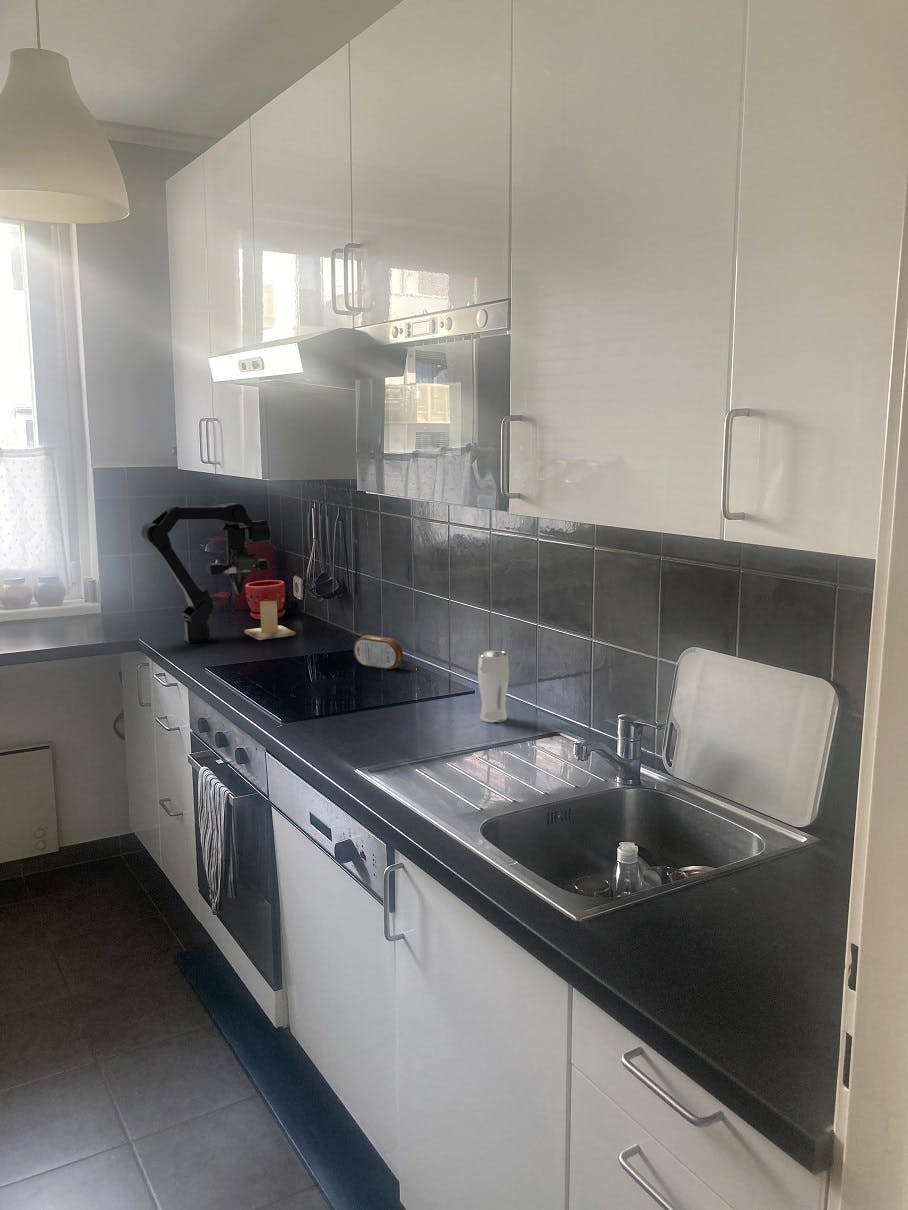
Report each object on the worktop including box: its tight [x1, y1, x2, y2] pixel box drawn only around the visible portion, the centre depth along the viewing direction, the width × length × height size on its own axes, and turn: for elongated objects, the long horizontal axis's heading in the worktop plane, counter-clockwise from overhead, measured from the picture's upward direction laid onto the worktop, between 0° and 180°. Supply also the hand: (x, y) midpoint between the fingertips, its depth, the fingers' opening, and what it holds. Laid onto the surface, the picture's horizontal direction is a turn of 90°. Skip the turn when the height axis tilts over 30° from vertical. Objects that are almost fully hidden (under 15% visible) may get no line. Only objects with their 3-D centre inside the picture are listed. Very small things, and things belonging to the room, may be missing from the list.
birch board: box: [244, 625, 296, 641], centre depth 311 cm, size 12×12×1 cm
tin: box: [353, 634, 404, 670], centre depth 268 cm, size 15×3×8 cm, turn 58°
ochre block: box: [260, 601, 279, 633], centre depth 310 cm, size 5×5×9 cm
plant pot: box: [244, 579, 286, 620], centre depth 336 cm, size 13×13×12 cm
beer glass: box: [477, 649, 510, 724], centre depth 221 cm, size 7×7×15 cm
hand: (238, 594), depth 308 cm, fingers closed
